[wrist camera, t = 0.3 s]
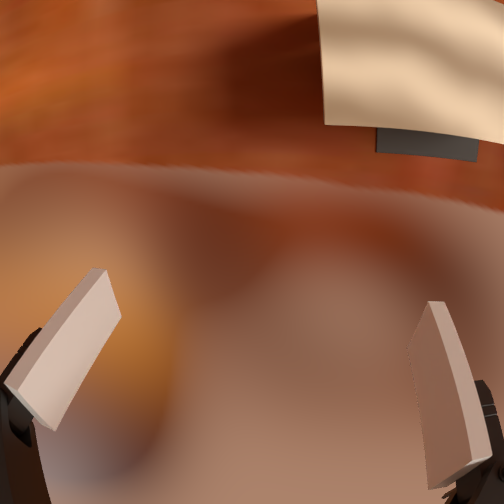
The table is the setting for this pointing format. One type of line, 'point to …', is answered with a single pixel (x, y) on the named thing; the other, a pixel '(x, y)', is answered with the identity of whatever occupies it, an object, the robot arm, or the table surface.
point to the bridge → (414, 65)
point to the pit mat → (426, 144)
